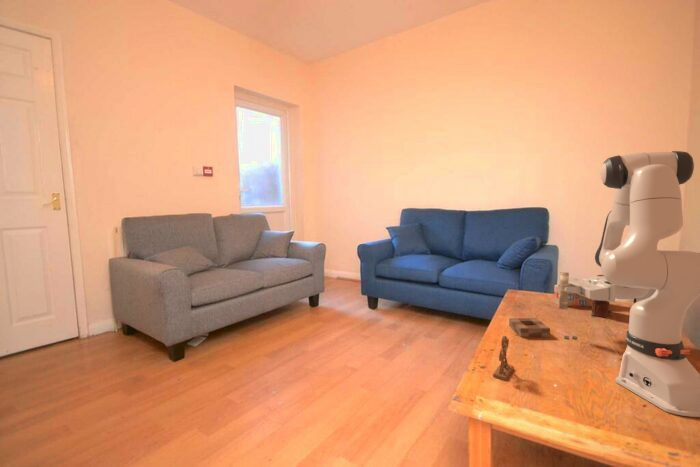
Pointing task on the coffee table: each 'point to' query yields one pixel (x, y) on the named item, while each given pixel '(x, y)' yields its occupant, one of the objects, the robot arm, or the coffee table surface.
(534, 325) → the square hole block
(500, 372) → the brown ring sculpture
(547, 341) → the coffee table surface
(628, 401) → the coffee table surface
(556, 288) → the stack of blocks
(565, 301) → the wooden dowel
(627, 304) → the coffee table surface
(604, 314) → the wooden figurine
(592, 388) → the coffee table surface
